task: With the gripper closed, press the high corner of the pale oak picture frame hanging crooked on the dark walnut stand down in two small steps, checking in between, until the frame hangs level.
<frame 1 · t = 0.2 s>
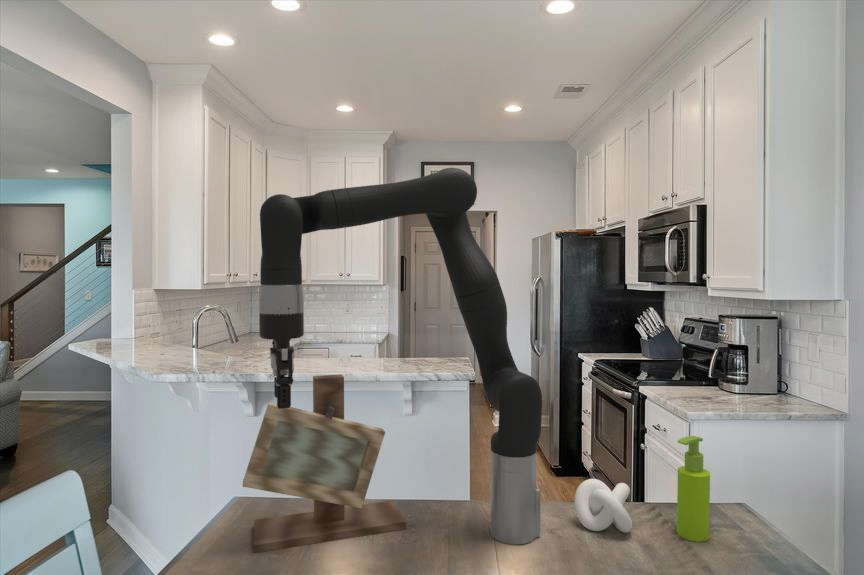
hand: (282, 402, 95), 30 cm above the table, tool pointing down, fingers open, 8 cm apart
frame: (317, 451, 107), point 17 cm above the table, hinge at -18.0°
white decorative knot: (608, 529, 112), on the table
soap dispenser: (691, 536, 109), on the table
stand: (329, 527, 112), on the table
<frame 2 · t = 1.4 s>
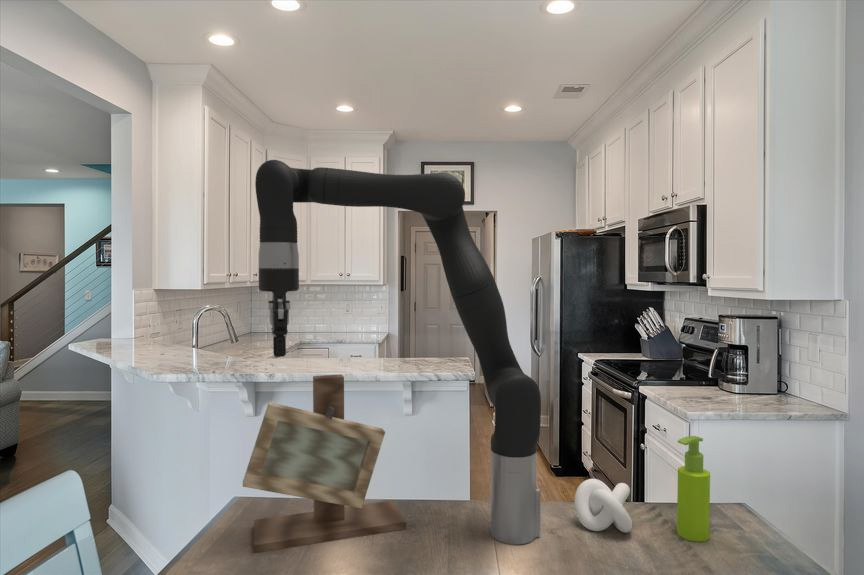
hand: (279, 355, 105), 37 cm above the table, tool pointing down, fingers closed
nothing on the table moved.
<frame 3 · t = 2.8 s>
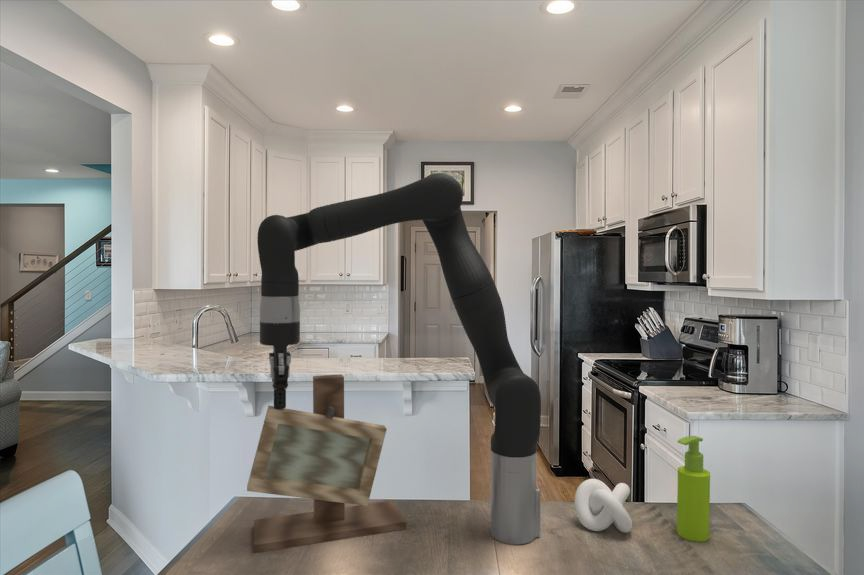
hand: (279, 407, 105), 27 cm above the table, tool pointing down, fingers closed
frame: (320, 451, 108), point 17 cm above the table, hinge at -14.7°, touching gripper
everything else where it was.
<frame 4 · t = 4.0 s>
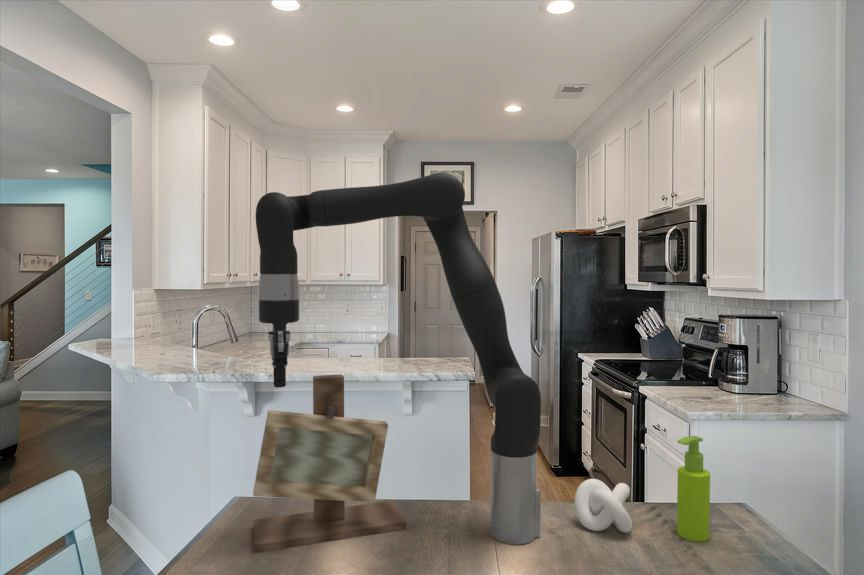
hand: (279, 386, 105), 31 cm above the table, tool pointing down, fingers closed
frame: (323, 452, 108), point 17 cm above the table, hinge at -10.4°
everything else where it was.
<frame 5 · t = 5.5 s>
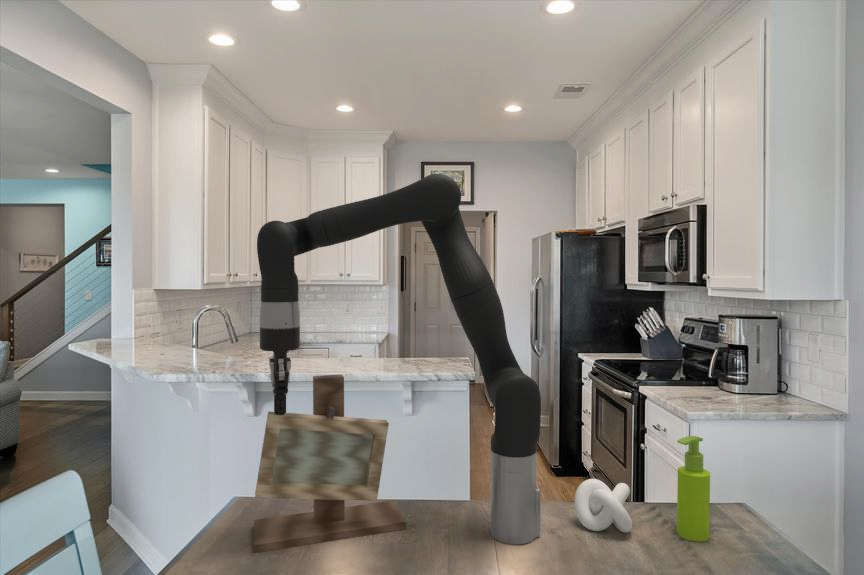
hand: (280, 413, 105), 26 cm above the table, tool pointing down, fingers closed
frame: (324, 452, 108), point 17 cm above the table, hinge at -9.1°, touching gripper
everything else where it was.
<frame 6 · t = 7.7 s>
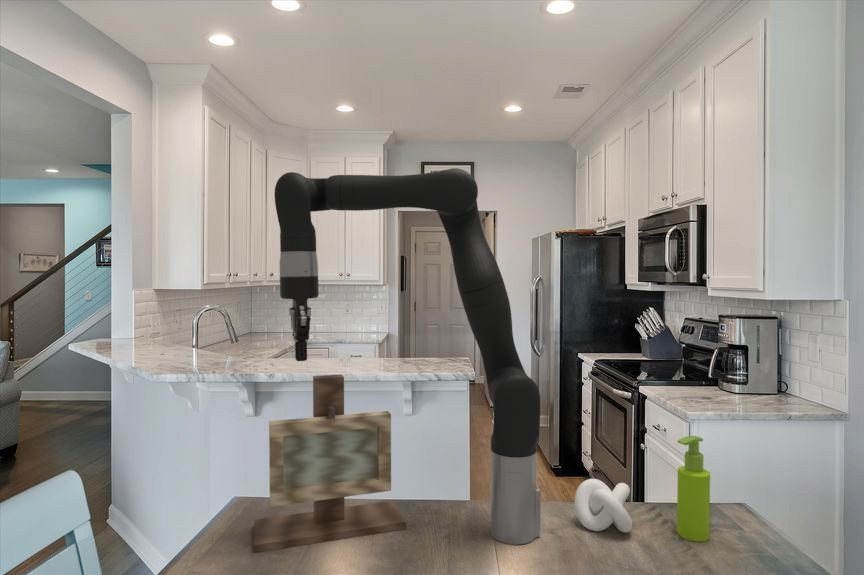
hand: (301, 360, 109), 35 cm above the table, tool pointing down, fingers closed
frame: (331, 451, 108), point 17 cm above the table, hinge at 0.1°
everything else where it was.
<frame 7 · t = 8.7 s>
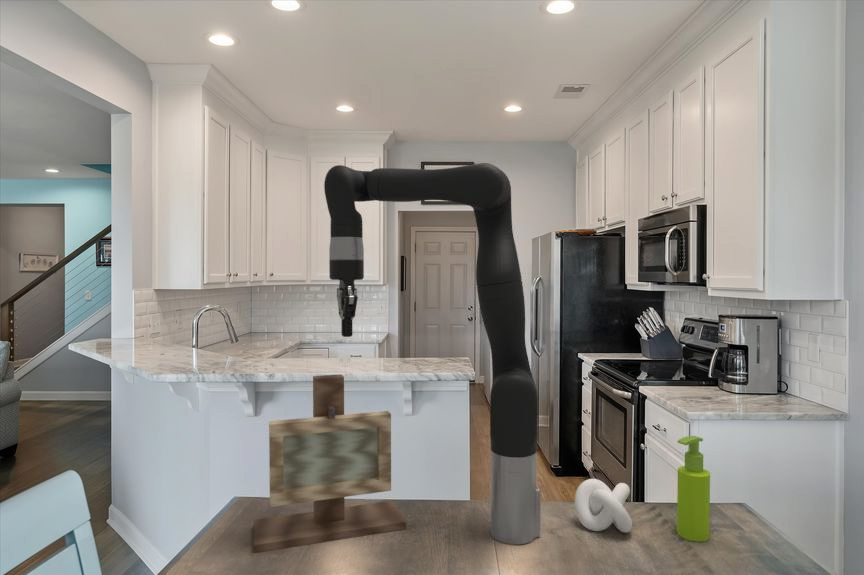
hand: (346, 336, 119), 39 cm above the table, tool pointing down, fingers closed
nothing on the table moved.
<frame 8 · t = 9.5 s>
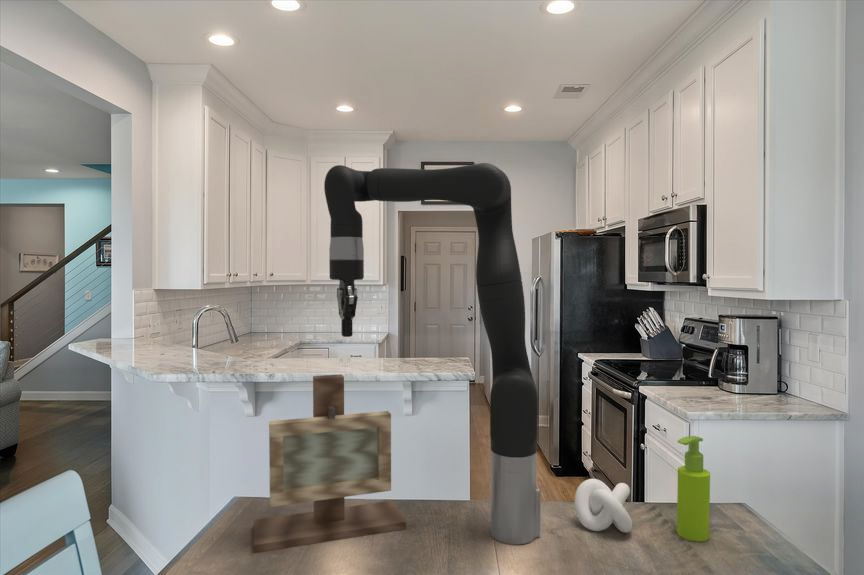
hand: (346, 336, 119), 39 cm above the table, tool pointing down, fingers closed
nothing on the table moved.
at the end: frame at +0° (first picture: -18°) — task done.
